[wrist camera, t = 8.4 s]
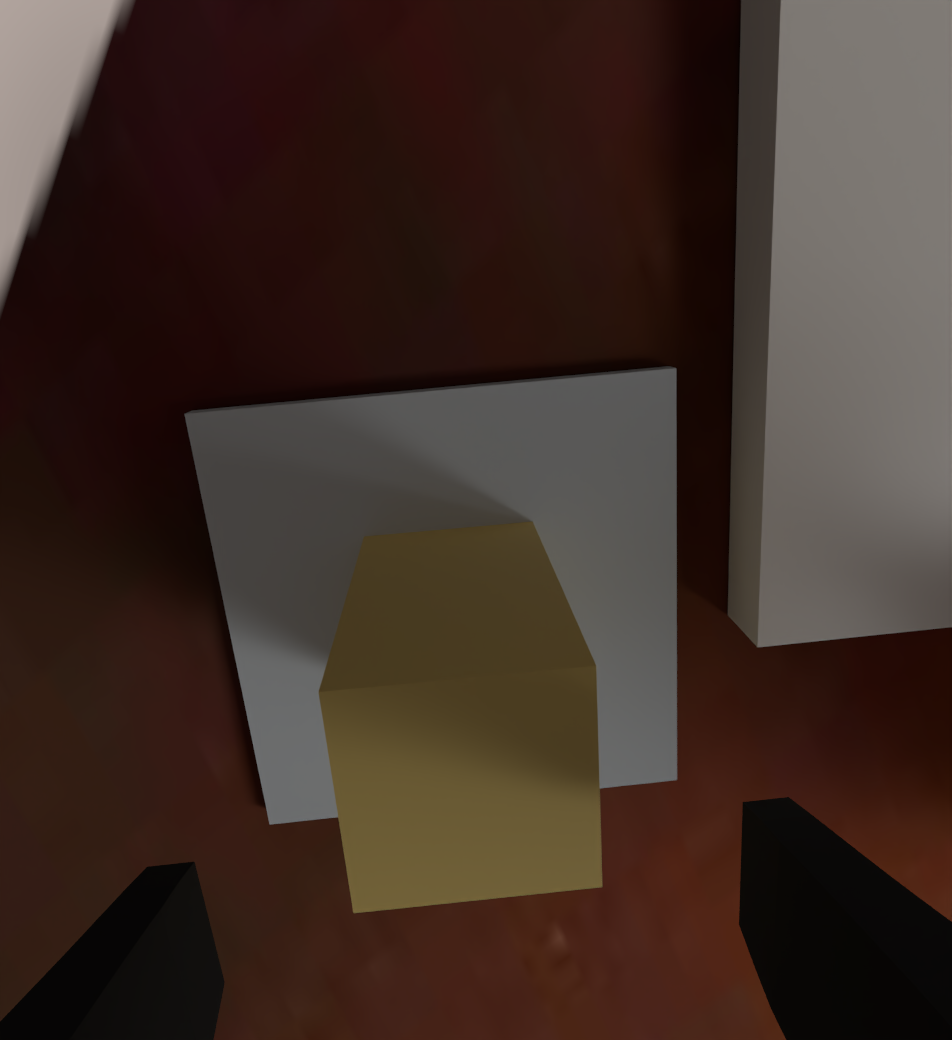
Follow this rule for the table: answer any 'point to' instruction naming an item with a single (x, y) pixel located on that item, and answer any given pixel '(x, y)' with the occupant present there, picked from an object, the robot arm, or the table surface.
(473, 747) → the block
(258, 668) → the mat
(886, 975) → the robot arm
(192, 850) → the table surface
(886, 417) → the pocket holder
